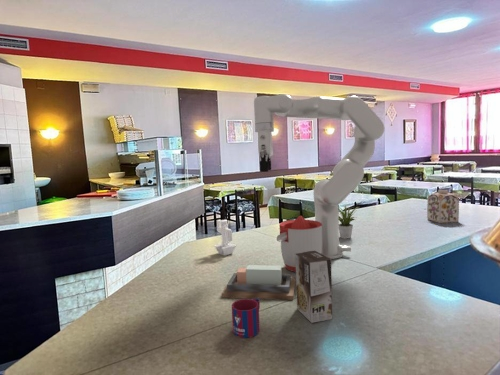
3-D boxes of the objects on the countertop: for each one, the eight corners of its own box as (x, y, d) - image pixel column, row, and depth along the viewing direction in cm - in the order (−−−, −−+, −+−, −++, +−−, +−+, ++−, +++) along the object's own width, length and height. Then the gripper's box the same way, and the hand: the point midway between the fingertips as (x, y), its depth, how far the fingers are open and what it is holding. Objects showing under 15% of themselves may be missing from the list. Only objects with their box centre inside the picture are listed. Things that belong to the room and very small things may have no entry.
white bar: (282, 283, 110) (281, 265, 109) (281, 288, 106) (280, 269, 105) (240, 282, 112) (239, 264, 111) (237, 287, 108) (236, 269, 108)
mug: (227, 333, 83) (226, 306, 83) (251, 316, 91) (250, 292, 91) (249, 341, 79) (247, 313, 79) (271, 322, 87) (271, 297, 87)
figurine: (224, 257, 143) (223, 223, 141) (213, 253, 150) (211, 220, 149) (238, 253, 147) (236, 220, 146) (226, 249, 155) (224, 217, 153)
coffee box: (333, 319, 88) (332, 259, 86) (311, 323, 86) (309, 262, 84) (316, 304, 96) (315, 249, 95) (296, 308, 95) (294, 252, 93)
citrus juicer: (269, 266, 130) (267, 215, 128) (307, 258, 137) (306, 210, 135) (289, 279, 116) (288, 222, 114) (331, 270, 123) (330, 216, 120)
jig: (295, 281, 114) (295, 272, 113) (293, 299, 100) (293, 289, 100) (232, 279, 118) (231, 270, 117) (221, 297, 104) (221, 287, 104)
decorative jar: (426, 219, 199) (427, 189, 198) (444, 218, 201) (445, 188, 199) (440, 223, 188) (440, 191, 186) (459, 222, 189) (460, 190, 187)
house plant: (351, 232, 177) (350, 201, 175) (368, 238, 164) (367, 205, 162) (327, 235, 173) (326, 203, 171) (342, 241, 160) (342, 207, 158)
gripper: (271, 126, 126) (272, 172, 127) (275, 128, 142) (277, 169, 144) (251, 127, 127) (253, 172, 129) (258, 129, 144) (259, 169, 146)
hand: (265, 170), depth 137 cm, fingers open, 9 cm apart
